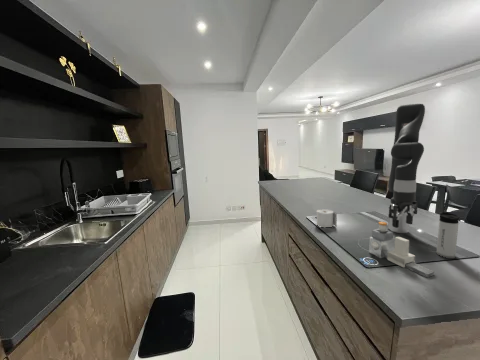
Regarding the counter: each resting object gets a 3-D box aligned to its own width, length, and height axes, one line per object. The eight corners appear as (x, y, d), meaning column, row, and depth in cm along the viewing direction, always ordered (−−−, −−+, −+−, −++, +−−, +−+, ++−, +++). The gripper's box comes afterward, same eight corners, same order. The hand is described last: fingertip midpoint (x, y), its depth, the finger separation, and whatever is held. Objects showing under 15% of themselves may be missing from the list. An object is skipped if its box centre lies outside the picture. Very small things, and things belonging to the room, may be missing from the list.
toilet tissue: (316, 222, 148) (315, 209, 146) (334, 223, 144) (334, 209, 143) (317, 228, 138) (317, 213, 136) (336, 229, 134) (336, 214, 133)
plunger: (376, 231, 101) (376, 222, 101) (381, 230, 102) (381, 221, 102) (383, 233, 98) (383, 224, 97) (388, 232, 99) (388, 223, 98)
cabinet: (368, 252, 103) (369, 230, 101) (382, 248, 106) (383, 227, 104) (380, 258, 98) (380, 235, 96) (394, 254, 100) (395, 231, 99)
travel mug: (449, 252, 99) (453, 212, 96) (458, 259, 93) (462, 216, 90) (433, 250, 101) (436, 211, 98) (441, 257, 95) (444, 216, 92)
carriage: (387, 259, 96) (388, 237, 94) (398, 256, 98) (399, 234, 96) (403, 267, 89) (405, 243, 87) (414, 263, 91) (416, 240, 89)
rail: (384, 257, 98) (384, 254, 98) (390, 255, 100) (390, 252, 99) (427, 277, 82) (427, 274, 82) (434, 275, 83) (434, 271, 83)
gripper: (406, 186, 94) (404, 220, 97) (383, 190, 90) (382, 225, 92) (425, 189, 87) (423, 225, 90) (402, 193, 83) (399, 231, 85)
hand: (402, 225), depth 91 cm, fingers open, 8 cm apart
